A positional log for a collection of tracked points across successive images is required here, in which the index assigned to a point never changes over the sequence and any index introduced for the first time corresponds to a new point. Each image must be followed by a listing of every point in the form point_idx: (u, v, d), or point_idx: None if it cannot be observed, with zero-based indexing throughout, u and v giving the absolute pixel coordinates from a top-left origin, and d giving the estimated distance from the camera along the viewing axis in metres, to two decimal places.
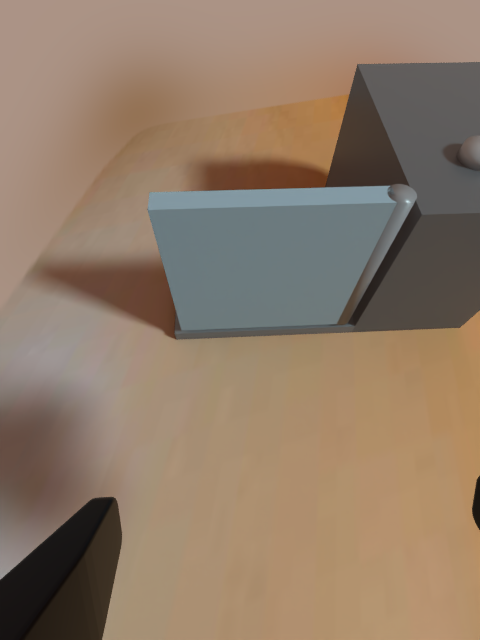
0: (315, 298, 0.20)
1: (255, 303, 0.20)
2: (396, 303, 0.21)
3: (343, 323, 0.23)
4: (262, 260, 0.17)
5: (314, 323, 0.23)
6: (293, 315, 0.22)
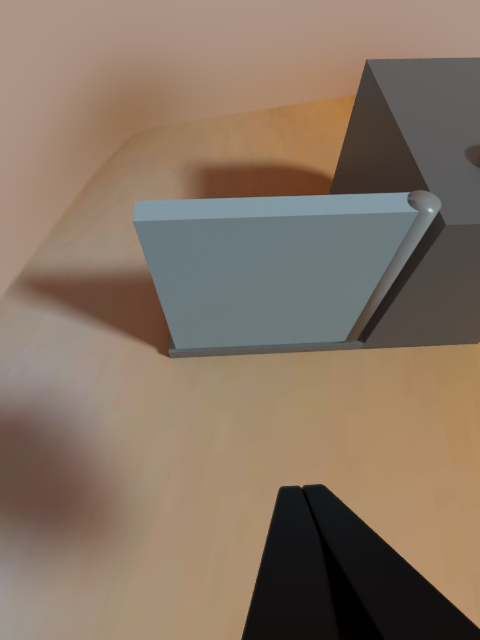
0: (322, 315, 0.18)
1: (256, 320, 0.18)
2: (411, 320, 0.19)
3: (352, 340, 0.21)
4: (265, 275, 0.15)
5: (320, 340, 0.21)
6: (298, 332, 0.20)
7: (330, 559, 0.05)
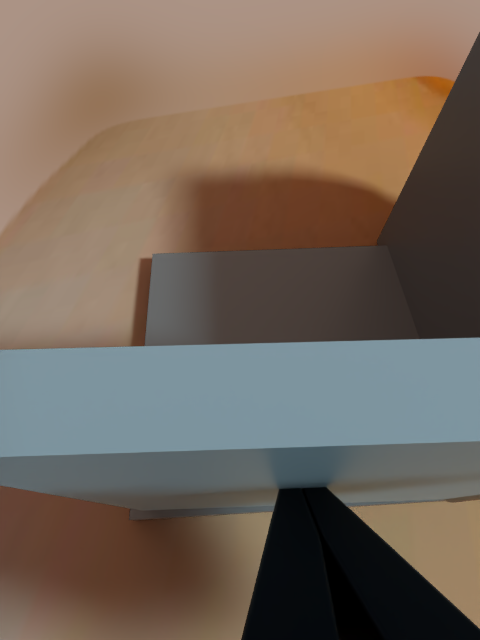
0: (427, 493, 0.09)
1: None
2: None
3: (458, 501, 0.12)
4: (336, 484, 0.06)
5: (401, 500, 0.12)
6: (366, 500, 0.11)
7: (330, 559, 0.05)
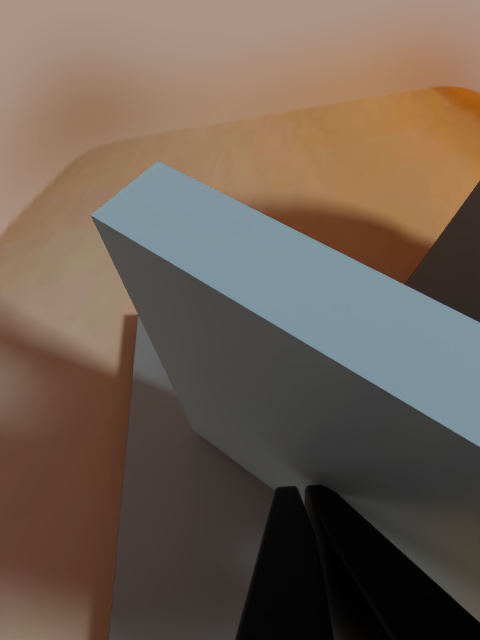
0: None
1: None
2: None
3: None
4: (405, 525, 0.05)
5: None
6: None
7: (335, 559, 0.05)
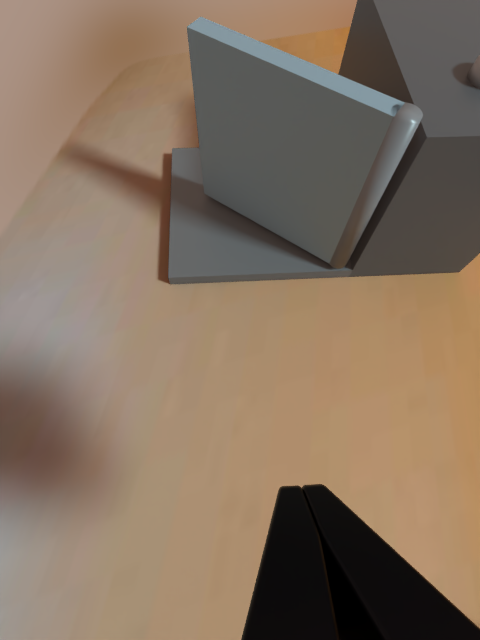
0: (311, 215, 0.20)
1: (261, 191, 0.21)
2: (396, 244, 0.21)
3: (334, 265, 0.22)
4: (270, 137, 0.18)
5: (309, 250, 0.23)
6: (292, 227, 0.22)
7: (330, 559, 0.05)
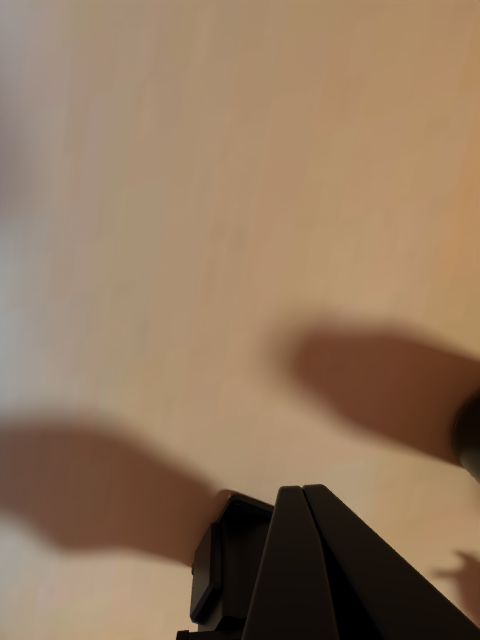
0: None
1: None
2: None
3: None
4: None
5: None
6: None
7: (330, 559, 0.05)
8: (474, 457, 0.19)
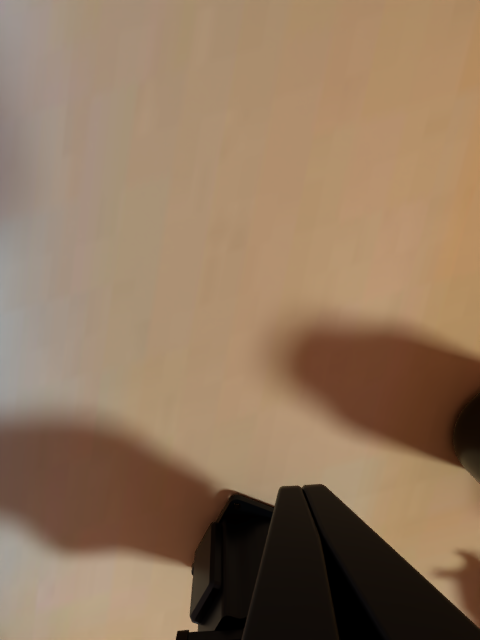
0: None
1: None
2: None
3: None
4: None
5: None
6: None
7: (330, 559, 0.05)
8: (474, 457, 0.19)
